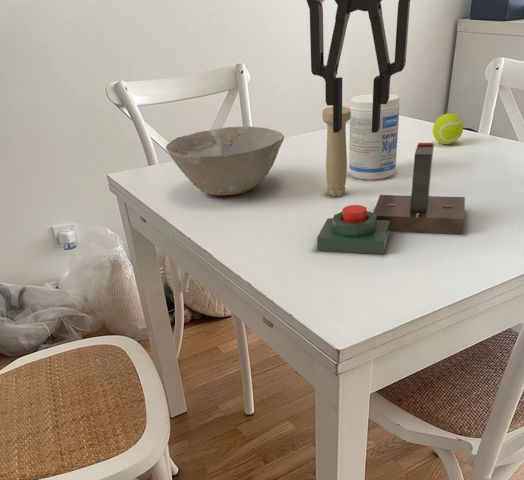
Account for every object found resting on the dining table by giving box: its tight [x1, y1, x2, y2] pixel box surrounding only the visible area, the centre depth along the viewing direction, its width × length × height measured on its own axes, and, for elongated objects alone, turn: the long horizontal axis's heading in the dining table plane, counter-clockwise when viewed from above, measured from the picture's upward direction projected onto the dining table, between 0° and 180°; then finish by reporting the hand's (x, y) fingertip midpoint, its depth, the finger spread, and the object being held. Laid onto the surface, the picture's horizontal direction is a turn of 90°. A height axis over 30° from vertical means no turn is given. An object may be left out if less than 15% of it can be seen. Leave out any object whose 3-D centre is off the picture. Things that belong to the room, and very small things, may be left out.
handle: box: [321, 106, 351, 197], centre depth 99 cm, size 5×6×15 cm
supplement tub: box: [348, 93, 401, 181], centre depth 108 cm, size 10×10×15 cm
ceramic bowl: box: [165, 126, 285, 196], centre depth 107 cm, size 22×23×10 cm
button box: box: [316, 210, 391, 255], centre depth 83 cm, size 10×8×4 cm
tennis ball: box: [432, 112, 464, 145], centre depth 125 cm, size 7×7×7 cm
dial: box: [410, 142, 435, 212], centre depth 85 cm, size 6×2×9 cm, turn 163°
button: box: [342, 204, 368, 223], centre depth 82 cm, size 4×4×2 cm
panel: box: [372, 194, 466, 235], centre depth 89 cm, size 14×10×3 cm
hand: (356, 129), depth 75 cm, fingers open, 5 cm apart
